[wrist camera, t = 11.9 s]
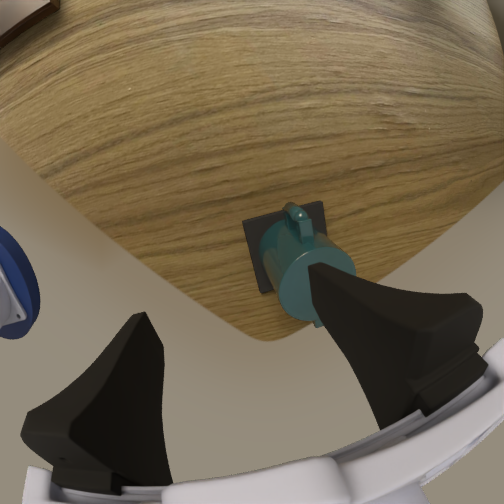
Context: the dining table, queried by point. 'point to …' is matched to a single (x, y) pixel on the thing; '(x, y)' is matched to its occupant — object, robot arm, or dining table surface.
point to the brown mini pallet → (22, 16)
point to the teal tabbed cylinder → (298, 260)
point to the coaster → (262, 223)
